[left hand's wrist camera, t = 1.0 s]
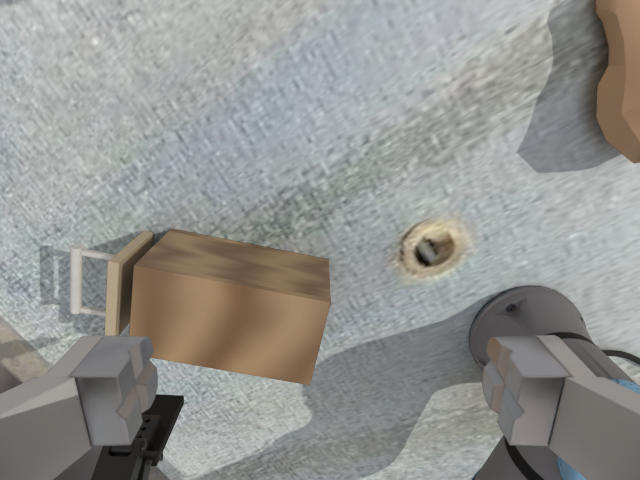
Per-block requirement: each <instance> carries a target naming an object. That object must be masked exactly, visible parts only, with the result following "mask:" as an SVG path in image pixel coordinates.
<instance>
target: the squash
mask: <svg viewBox="0 0 640 480" xmlns="http://www.w3.org/2000/svg"><path fill="white" fill-rule="evenodd" d="M595 4H596V14H597V15H598V17H599V18H600V19H601V21H602V23H603V27H604V30H605V34H606V38H607V42H608V46H609V63H608V67H607V69H606V71H605V73H604V75H603V76H602V78H601V80H600V82H599V84H598V89H597V111H596V118H597V121H598V123H599V125H600V128H601V130H602V132H603V135H604V137H605V139H606V141H607V142H608V143H609V144H611V145H612V146H613V147H614V148H615V149H617V150H618V151H619V152H620V153H621V154H623V155H624V156H625V157H626V158H628V159H629V160H630V161H631V162H633V163H640V0H596V2H595Z"/></svg>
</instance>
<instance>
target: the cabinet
mask: <svg viewBox="0 0 640 480" xmlns="http://www.w3.org/2000/svg"><path fill="white" fill-rule="evenodd" d="M330 303H331V300H330V279H329V260H328V259H324V258H319V257H314V256H309V255H304V254H299V253H293V252H288V251H283V250H278V249H273V248H268V247H263V246H258V245H253V244H248V243H242V242H237V241H232V240H227V239H222V238H217V237H212V236H207V235H202V234H197V233H192V232H186V231H181V230H176V229H170V230H169V231H168V232H167V233H166V234H165V235H164V236H163V237H162V238H161V239H160V240H159V241H158V242H157V243H156V244H155V245H154V246H153V247H152V248H151V249H150V250H149V251H148V252H147V253H146V254H145V255H144V256H143V257H142V258H141V259H140V260H139V261H138V262H137V263H136V264H135V265H134V271H133V287H132V302H131V318H130V333H129V336H148V337H149V338H150V339H151V340H152V345H153V350H154V353H153V354H152V356H151V358H156V359H162V360H168V361H174V362H180V363H185V364H191V365H197V366H203V367H208V368H214V369H220V370H226V371H231V372H237V373H243V374H249V375H254V376H260V377H266V378H272V379H277V380H283V381H289V382H295V383H301V384H306V385H310V383H311V379H312V375H313V371H314V367H315V363H316V359H317V355H318V351H319V347H320V343H321V339H322V335H323V331H324V327H325V323H326V319H327V315H328V311H329V307H330Z"/></svg>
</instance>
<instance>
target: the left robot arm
mask: <svg viewBox="0 0 640 480" xmlns="http://www.w3.org/2000/svg"><path fill="white" fill-rule="evenodd" d="M153 353H154V350H153V345H152V340H151V339H150V338H149V337H148V336H105V335H87V336H83V337H81V338H80V339H79V340H78V341H77V342H76V343H75V344H74V345H73V346H72V347H71V348H70V349H69V351H68V352H67V353H66V354H65V355H64V356H63V357H62V358H61V359H60V360H59V361H58V362H57V363H56V364H55V365H54V366H53V367H52V368H51V369H50V371H49V372H48V373H47V374H46V375H45V376H44V377H36V378H33V379H31V380H29V381H27V382H25V383H23V384H21V385H19V386H17V387H14V388H12V389H10V390H8V391H6V392H4V393H2V394H0V480H53V479H54V478H56V477H57V476H58V475H59V474H60V473H62V472H63V471H64V470H65V469H67V468H68V467H69V466H70V465H71V464H73V463H74V462H75V461H76V460H78V459H79V458H80V457H81V456H83V455H84V454H85V453H86V452H87V451H89V450H90V449H91V446H121V445H131V443H132V441H133V440H134V438H135V436H136V434H137V432H138V430H139V428H140V426H141V425H142V423H143V421H142V416H141V414H142V413H143V412H145V411H146V410H148V409H149V408H150V407H151V405H152V403H153V401H154V399H155V395H156V391H157V387H158V375H157V368H156V367H155V366H154V365H153V364H152V363H151V361H150V360H149V359H150V358H151V356H152V354H153ZM486 353H487V354H488V356H489V358H490V359H491V360H490V361H489V363H488V364H487V365H486V366H485V367H484V368H483V376H482V384H483V392H484V396H485V399H486V401H487V403H488V405H489V407H490V408H491V409H492V410H494V411H495V412H497V413H498V414H499V416H498V421H497V423H498V425H499V426H500V428H501V430H502V432H503V434H504V436H505V438H506V440H507V441H508V443H509V445H518V446H549V449H550V450H551V451H553V452H554V453H555V454H556V455H558V456H559V457H560V458H561V459H562V460H564V461H565V462H566V463H567V464H569V465H570V466H571V467H572V468H574V469H575V470H576V471H577V472H578V473H580V474H581V475H582V476H583V477H585V478H586V479H587V480H640V394H638V393H636V392H634V391H632V390H630V389H628V388H626V387H623V386H621V385H619V384H617V383H615V382H613V381H611V380H609V379H607V378H604V377H596V376H595V375H594V374H593V373H592V372H591V371H590V369H589V368H588V367H587V366H586V365H585V364H584V363H583V362H582V361H581V360H580V359H579V358H578V357H577V356H576V355H575V354H574V353H573V352H572V350H571V349H570V348H569V347H568V346H567V345H566V344H565V343H564V342H563V341H562V340H561V339H560V338H559V337H557V336H555V335H541V336H512V337H490V339H489V341H488V344H487V349H486Z"/></svg>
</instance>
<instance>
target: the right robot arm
mask: <svg viewBox="0 0 640 480" xmlns="http://www.w3.org/2000/svg"><path fill="white" fill-rule="evenodd" d="M541 335H555V336H557V337H559V338H560V339H561V340H562V341H563V342H564V343H565V344H566V345H567V346H568V347H569V348H570V349H571V350H572V352H573V353H574V354H575V355H576V356H577V357H578V358H579V359H580V360H581V361H582V362H583V363H584V364H585V365H586V366H587V367H588V368H589V369H590V371H591V372H592V373H593V374H594V375H595V376H596V377H604V378H607V379H609V380H611V381H613V382H615V383H617V384H619V385H621V386H623V387H626V388H628V389H630V390H632V391H634V392H636V393H638V394H640V386H639V385H637V384H636V383H635V382H634V381H633V380H632V379H631V378H630V377H629V376H628V375H627V374H626V373H624V372H623V371H622V370H621V369H620V368H619V367H618V366H617V365H616V364H615V363H614V362H613V361H612V360H611V359H610V358H609V357H608V356H619V357H624V358H627V359H630V360H632V361H634V362H636V363H638V364H640V359H639V358H637V357H635V356H633V355H631V354H628V353H625V352H621V351H601V350H600V349H599V348H598V347H597V346H596V345H595V344H594V343H593V342H592V340H591V338H590V336H589V334H588V332H587V330H586V326H585V322H584V320H583V318H582V316H581V314H580V312H579V311H578V310H577V308H576V307H575V306H574V304H573V303H572V302H570V301H569V300H568V299H567V298H566V297H565V296H563V295H562V294H561V293H559V292H557V291H555V290H553V289H550V288H546V287H541V286H524V287H518V288H515V289H511V290H508V291H506V292H504V293H502V294H500V295H498V296H496V297H495V298H493V299H492V300H491V301H489V302H488V303H487V304H486V305H485V306H484V307H483V308H482V309H481V310H480V312H479V313H478V314H477V316H476V318H475V319H474V321H473V324H472V326H471V330H470V335H469V344H470V349H471V352H472V355H473V357H474V358H475V360H476V362H477V364H478V366H479V367H480V368H481V369H482V370H483V368H484V367H485V366H486V365H487V364H488V363H489V361H490V360H491V359H490V358H489V356H488V354H487V353H486V349H487V344H488V341H489V339H490V337H512V336H541ZM183 404H184V396H176V395H155V399H154V401H153V403H152V405H151V407H150V408H149V409H148V410H146V411H145V412H143V413H142V414H141V416H142V421H143V423H142V425H141V426H140V428H139V430H138V432H137V434H136V436H135V438H134V440H133V441H132V443H131V445H121V446H103V448H102V451H101V454H100V456H99V459H98V462H97V465H96V468H95V470H94V473H93V476H92V479H91V480H148V477H149V472H150V467H151V466H157V464H158V461H162V460H163V450H164V448H165V445H166V443H167V441H168V438H169V436H170V434H171V432H172V429H173V427H174V425H175V422H176V420H177V418H178V415H179V413H180V411H181V409H182V406H183ZM472 480H587V479H586V478H585V477H583V476H582V475H581V474H580V473H578V472H577V471H576V470H575V469H574V468H572V467H571V466H570V465H569V464H567V463H566V462H565V461H564V460H562V459H561V458H560V457H559V456H558V455H556V454H555V453H554V452H553V451H551V450H550V449H549V446H518V445H509V443H508V441H507V440H506V438H505V436H504V435H503V436H502V438H501V440H500V441H499V443H498V444H497V446H496V447H495V449H494V450H493V452H492V453H491V455H490V456H489V458H488V459H487V461H486V462H485V464H484V465H483V467H482V468H481V469H480V470H479V471H478V472H477V473H476V474H475V475H474V477H473V478H472Z"/></svg>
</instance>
